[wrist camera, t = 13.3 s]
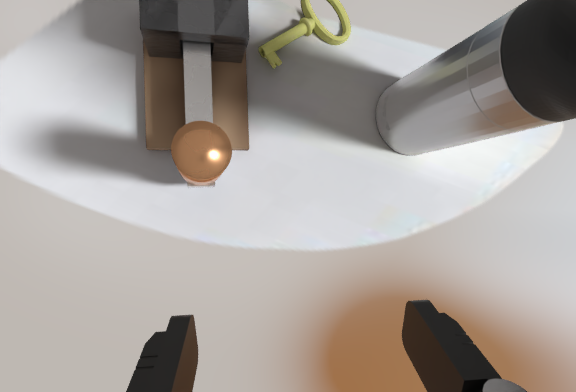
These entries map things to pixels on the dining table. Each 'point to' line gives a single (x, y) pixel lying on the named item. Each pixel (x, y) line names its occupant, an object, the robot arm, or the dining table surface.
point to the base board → (171, 100)
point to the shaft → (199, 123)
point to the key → (307, 31)
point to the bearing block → (195, 27)
